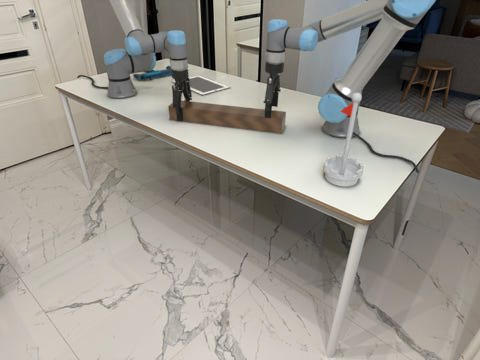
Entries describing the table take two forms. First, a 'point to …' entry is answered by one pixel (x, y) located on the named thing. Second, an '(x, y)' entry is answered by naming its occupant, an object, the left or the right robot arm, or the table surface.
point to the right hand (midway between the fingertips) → (271, 111)
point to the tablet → (204, 85)
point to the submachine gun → (153, 74)
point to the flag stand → (345, 155)
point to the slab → (230, 116)
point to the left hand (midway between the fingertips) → (184, 116)
